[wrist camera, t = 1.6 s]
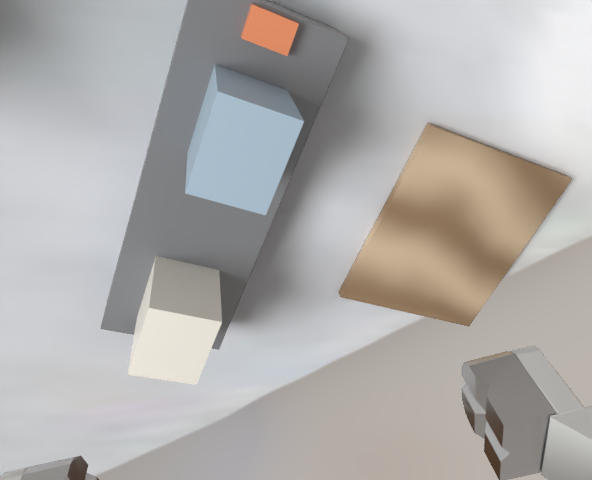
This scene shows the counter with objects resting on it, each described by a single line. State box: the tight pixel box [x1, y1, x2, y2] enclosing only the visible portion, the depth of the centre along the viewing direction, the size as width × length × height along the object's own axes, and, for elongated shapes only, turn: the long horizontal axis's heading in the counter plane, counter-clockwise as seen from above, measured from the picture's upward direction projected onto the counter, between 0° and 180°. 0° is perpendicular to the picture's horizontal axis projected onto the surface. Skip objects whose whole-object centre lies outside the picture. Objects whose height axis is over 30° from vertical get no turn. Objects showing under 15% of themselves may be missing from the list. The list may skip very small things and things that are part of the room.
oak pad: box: [339, 123, 572, 326], centre depth 37 cm, size 14×12×1 cm
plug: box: [128, 256, 222, 385], centre depth 31 cm, size 5×4×7 cm
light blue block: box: [185, 64, 304, 215], centre depth 26 cm, size 5×4×7 cm
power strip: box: [101, 0, 348, 349], centre depth 30 cm, size 22×8×4 cm, turn 158°
